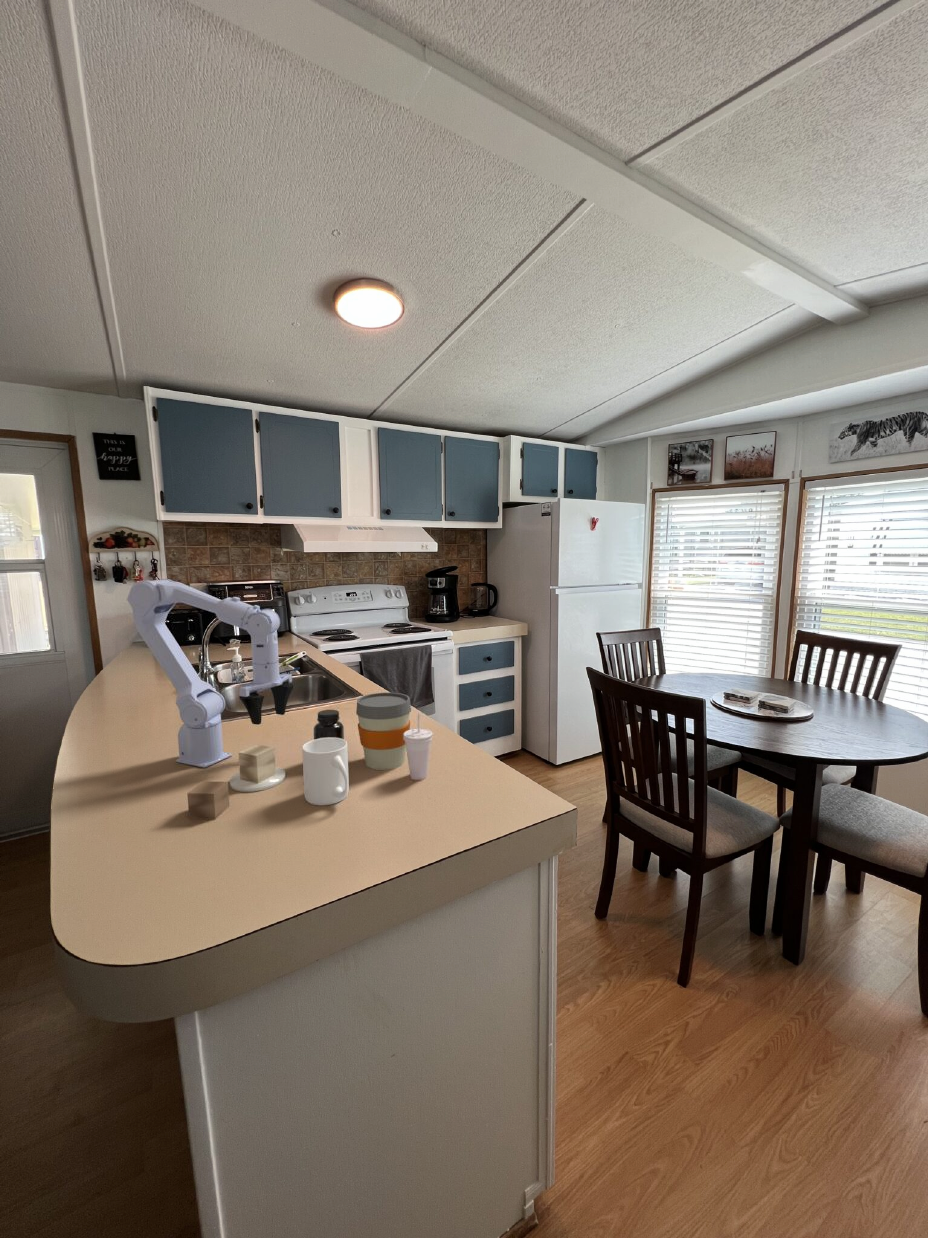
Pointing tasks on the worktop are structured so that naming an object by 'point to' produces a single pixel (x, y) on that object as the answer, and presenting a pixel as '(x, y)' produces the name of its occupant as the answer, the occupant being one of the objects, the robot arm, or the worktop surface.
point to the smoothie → (418, 751)
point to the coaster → (252, 787)
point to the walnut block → (208, 800)
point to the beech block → (257, 763)
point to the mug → (325, 770)
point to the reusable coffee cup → (383, 728)
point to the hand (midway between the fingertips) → (268, 718)
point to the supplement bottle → (328, 725)
